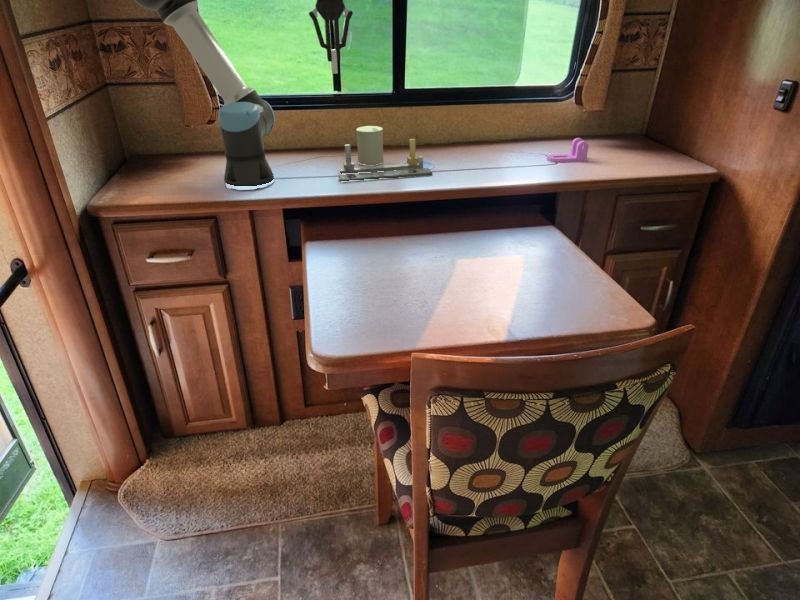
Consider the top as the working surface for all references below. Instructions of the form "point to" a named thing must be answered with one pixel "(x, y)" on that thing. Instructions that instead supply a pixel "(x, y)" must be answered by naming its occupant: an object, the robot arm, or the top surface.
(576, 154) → the bracket
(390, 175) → the hole plate
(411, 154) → the slider
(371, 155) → the can
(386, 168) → the rail
